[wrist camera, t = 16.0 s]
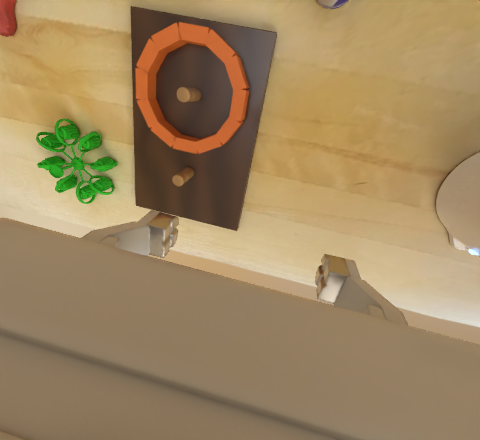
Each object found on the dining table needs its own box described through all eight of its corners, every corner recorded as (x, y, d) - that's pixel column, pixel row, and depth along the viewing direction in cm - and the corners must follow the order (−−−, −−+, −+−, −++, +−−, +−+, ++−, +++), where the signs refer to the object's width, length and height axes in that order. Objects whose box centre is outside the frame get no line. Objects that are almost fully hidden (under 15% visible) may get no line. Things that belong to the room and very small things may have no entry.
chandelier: (36, 118, 45) (-4, 122, 39) (111, 117, 42) (80, 121, 36) (65, 197, 52) (34, 210, 46) (131, 200, 49) (108, 215, 43)
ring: (258, 39, 33) (255, 35, 30) (237, 158, 40) (234, 162, 38) (144, 18, 34) (134, 13, 32) (145, 137, 41) (136, 140, 39)
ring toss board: (277, 34, 33) (274, 23, 28) (238, 228, 47) (231, 244, 42) (135, 8, 35) (107, -7, 29) (139, 203, 49) (120, 216, 44)
